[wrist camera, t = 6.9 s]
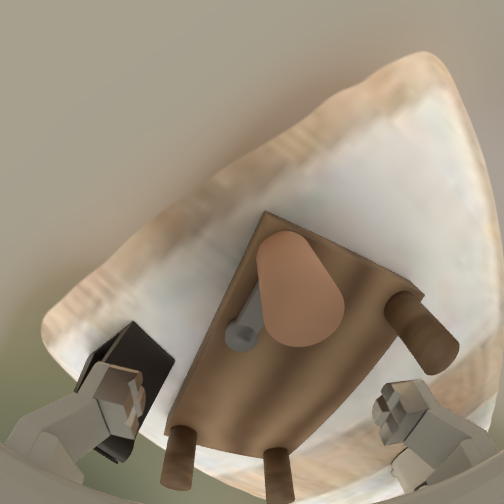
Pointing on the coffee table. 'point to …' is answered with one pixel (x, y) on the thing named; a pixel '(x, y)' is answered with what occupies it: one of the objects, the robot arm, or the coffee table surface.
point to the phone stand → (137, 358)
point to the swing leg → (288, 297)
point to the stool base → (293, 366)
